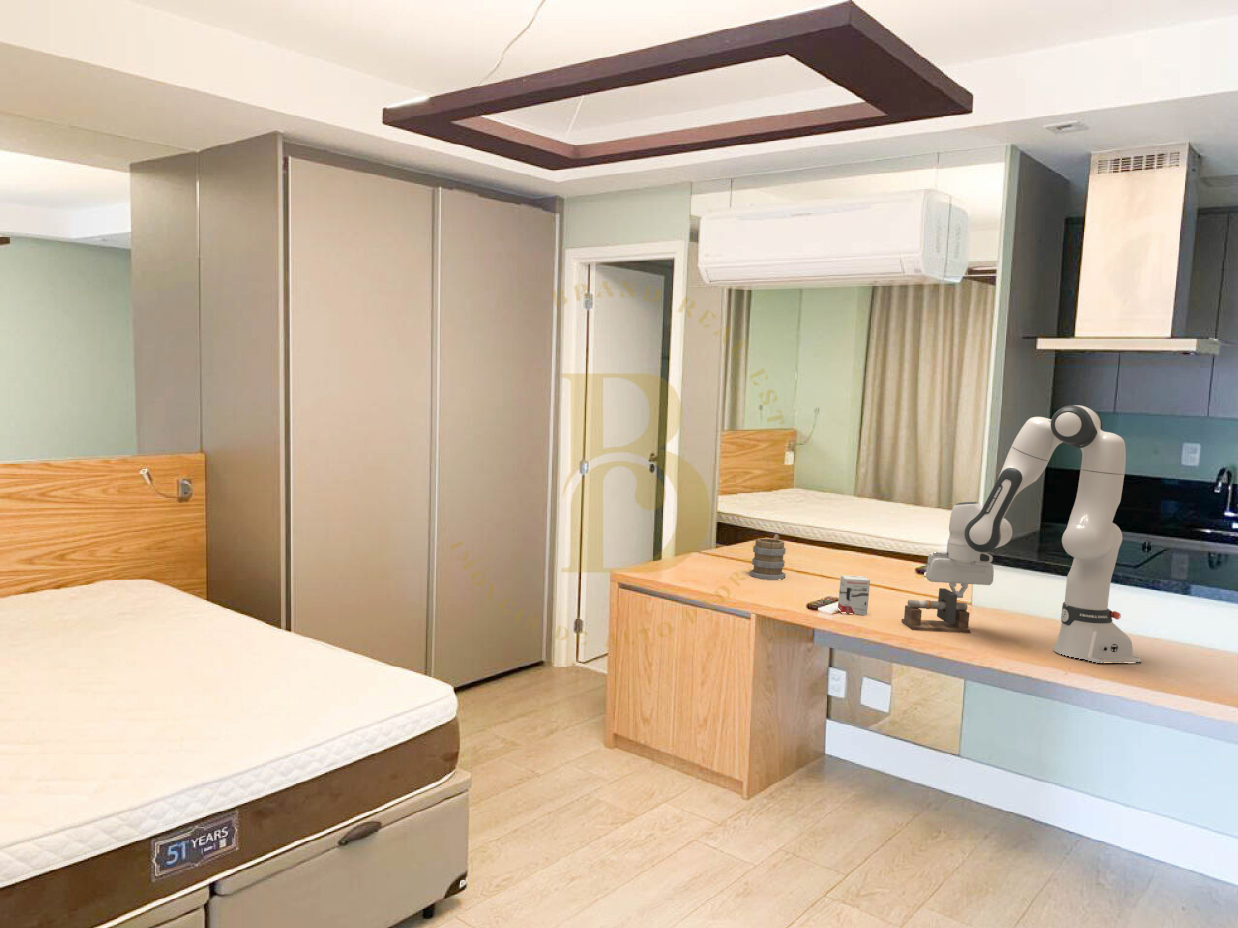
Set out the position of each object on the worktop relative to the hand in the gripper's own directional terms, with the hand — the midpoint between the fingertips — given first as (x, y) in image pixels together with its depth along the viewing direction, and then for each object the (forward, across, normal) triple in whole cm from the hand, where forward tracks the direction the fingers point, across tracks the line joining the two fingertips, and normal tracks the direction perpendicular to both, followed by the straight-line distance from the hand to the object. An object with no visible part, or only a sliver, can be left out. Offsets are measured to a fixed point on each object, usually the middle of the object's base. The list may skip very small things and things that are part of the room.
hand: (957, 597), depth 286 cm
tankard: (+10, -43, +71) cm, 84 cm away
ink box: (+10, -28, +14) cm, 33 cm away
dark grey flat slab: (+7, -3, 0) cm, 8 cm away
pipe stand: (+10, -6, 0) cm, 12 cm away
